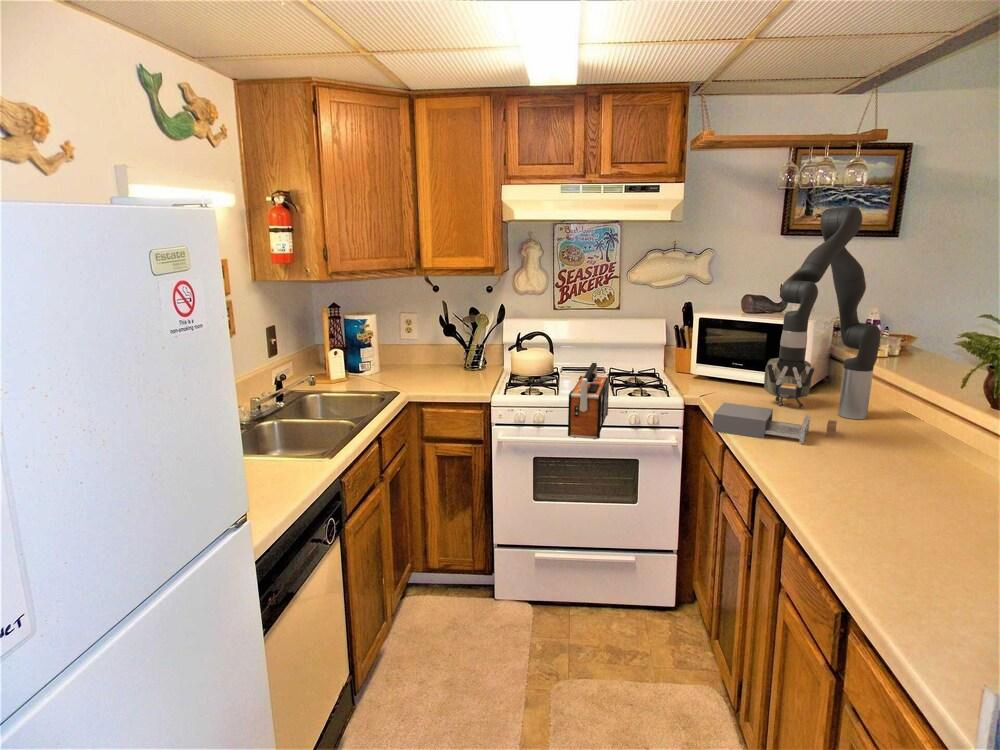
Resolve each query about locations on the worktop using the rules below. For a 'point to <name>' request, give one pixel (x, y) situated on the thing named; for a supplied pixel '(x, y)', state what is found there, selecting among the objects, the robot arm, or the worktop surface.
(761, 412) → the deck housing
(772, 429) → the tray
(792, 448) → the worktop surface
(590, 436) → the radio cassette player
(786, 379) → the tabletop clock
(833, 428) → the brown rectangular block
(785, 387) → the block
